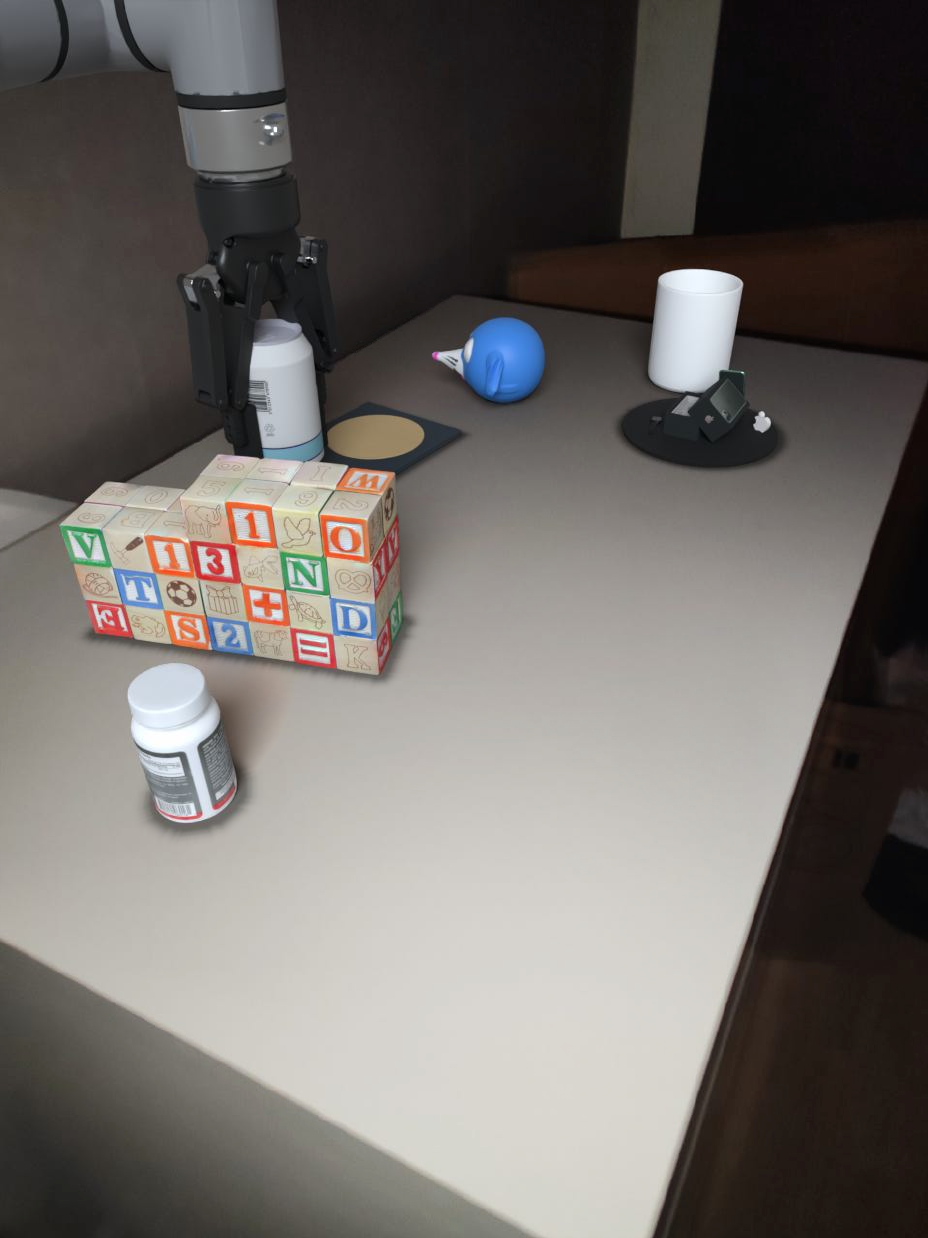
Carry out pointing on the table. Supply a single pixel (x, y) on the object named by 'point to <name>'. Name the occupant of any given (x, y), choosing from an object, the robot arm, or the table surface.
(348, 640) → the stack of blocks
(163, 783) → the pill bottle
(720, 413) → the apple device display stand
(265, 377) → the beverage can
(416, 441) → the mat
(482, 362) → the blue mole toy
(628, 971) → the table surface
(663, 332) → the mug
